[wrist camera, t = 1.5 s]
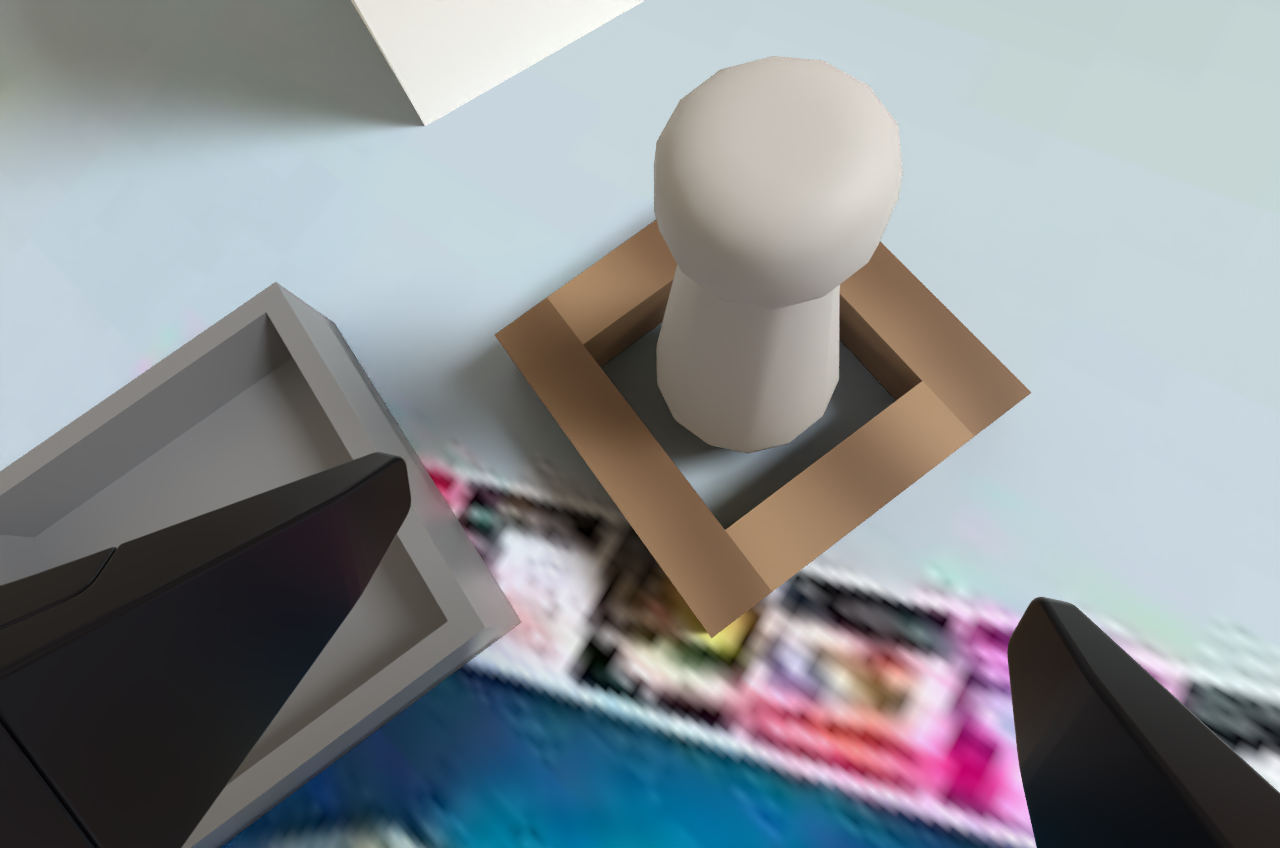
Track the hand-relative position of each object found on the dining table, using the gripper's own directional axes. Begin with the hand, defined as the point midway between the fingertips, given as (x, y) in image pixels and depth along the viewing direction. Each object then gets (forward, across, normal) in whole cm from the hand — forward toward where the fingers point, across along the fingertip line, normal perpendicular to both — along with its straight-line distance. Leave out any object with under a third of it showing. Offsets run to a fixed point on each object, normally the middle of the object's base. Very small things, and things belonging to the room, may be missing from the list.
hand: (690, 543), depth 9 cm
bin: (+6, +16, +12) cm, 20 cm away
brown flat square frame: (+14, 0, +4) cm, 14 cm away
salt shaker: (+14, 0, +4) cm, 14 cm away
